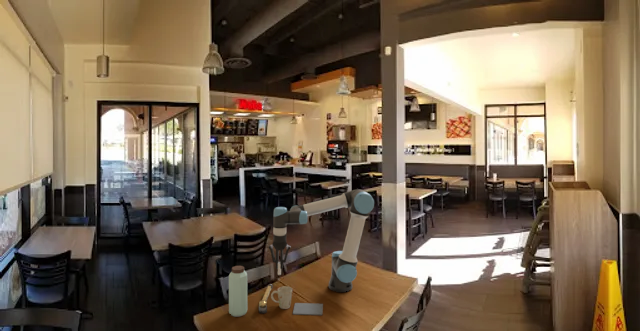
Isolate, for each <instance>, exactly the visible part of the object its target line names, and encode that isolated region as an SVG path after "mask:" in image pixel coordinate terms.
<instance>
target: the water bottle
mask: <svg viewBox="0 0 640 331" xmlns="http://www.w3.org/2000/svg"><path fill="white" fill-rule="evenodd" d="M247 312H248V272H247V271H246V270H245V266H243V265H235V266H232V267H231V272H230V273H229V275H228V313H229V314H231V315H230V316H232V317H235V318H236V317H242V316H245V315H246V314H247Z"/></svg>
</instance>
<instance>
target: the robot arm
mask: <svg viewBox="0 0 640 331" xmlns="http://www.w3.org/2000/svg"><path fill="white" fill-rule="evenodd" d="M374 207H375V199H374V198H373V196H372V195H371V193H368V192H367V191H365V190H363V189H353V190H349V191H346V192H342V194H341V195H337V196H334V197H330V198H325V199H321V200H317V201H312V202H308V203H306V204H305V203H304V204H302V205H301V204H300V205H297V204H296V205H292V206H291V208H290V209H289V210H288V208H287V207H285V206H277V207H274V209H273V228H272V230H273V231H272V232H273V233H272V234H273V235H272V236H273V238H272V239H273V240H272V244H269V245H268V249H269V251H270V256H271V258H272V260H271V261H272V262H273V263H275V269H277V275H278V276H281V275H282V270H283V268H284V264H285V263H286V262H287V258H288V255H289V251H290V250H291V248H292V246H291V245H289V244H288V243H287V225H306V224H307V223H308V218H309V217H310V216H313V215H317V214H322V213H326V212H330V211H333V210H338V209H341V208H346V209H349V214H350V220H349V223H348V227H347V232H346V236H345V240H344V243H343V248H342V250H337V251H333V252H332V253H331V274H330V278H329V280H328V288H329V290H331V291H333V292H335V291H336V293H347V292H350V291H352V289H353V283H352V282H353V281H354V280H355V279H356V278H357V275H358V270H357V265H358V258H357V256H358V251H359V247H360V242H361V239H362V235H363V231H364V228H365V227H364V226H365V223H366V219H367V218H369V217H370V213H371V211H372V210H373V209H374ZM274 249H275V251H274ZM284 249H286V251H285V255H284ZM279 254H280V255H279ZM279 258H280V259H279ZM349 290H350V291H349ZM346 291H347V292H346Z"/></svg>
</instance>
